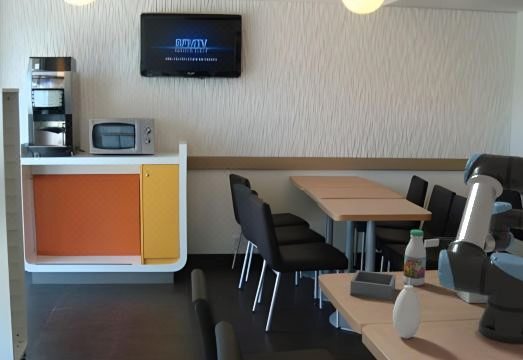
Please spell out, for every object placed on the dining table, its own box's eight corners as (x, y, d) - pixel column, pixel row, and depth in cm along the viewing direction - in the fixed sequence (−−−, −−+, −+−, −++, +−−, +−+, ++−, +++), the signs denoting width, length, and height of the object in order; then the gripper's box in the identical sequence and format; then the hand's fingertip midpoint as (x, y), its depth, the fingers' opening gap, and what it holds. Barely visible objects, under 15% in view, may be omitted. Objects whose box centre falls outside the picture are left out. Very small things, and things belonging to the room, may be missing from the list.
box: (391, 300, 201) (391, 286, 200) (350, 295, 205) (350, 281, 205) (394, 288, 214) (395, 274, 214) (356, 283, 218) (357, 270, 218)
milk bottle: (402, 279, 225) (405, 227, 222) (422, 280, 224) (426, 229, 221) (404, 285, 218) (407, 232, 215) (425, 286, 217) (429, 233, 214)
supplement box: (492, 303, 202) (496, 260, 199) (468, 303, 200) (471, 261, 198) (479, 294, 210) (482, 253, 208) (455, 294, 209) (458, 253, 207)
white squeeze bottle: (390, 330, 175) (393, 272, 172) (417, 332, 174) (421, 273, 172) (393, 341, 167) (397, 280, 165) (421, 343, 166) (425, 282, 164)
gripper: (503, 261, 221) (459, 267, 213) (456, 244, 244) (415, 249, 235) (505, 241, 220) (461, 246, 211) (457, 227, 243) (416, 231, 234)
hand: (436, 248), depth 223 cm, fingers open, 13 cm apart
